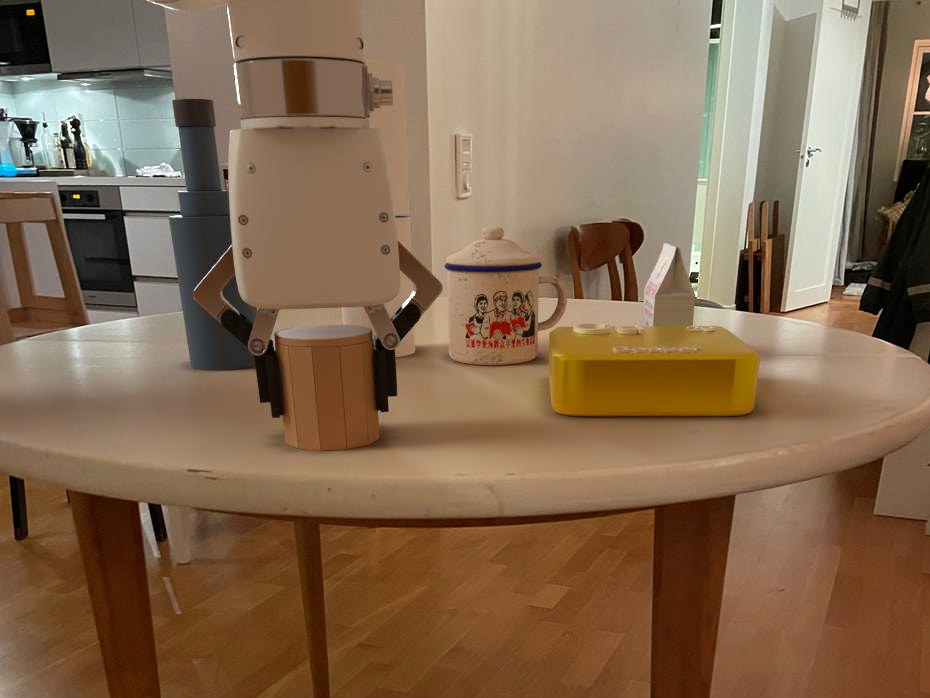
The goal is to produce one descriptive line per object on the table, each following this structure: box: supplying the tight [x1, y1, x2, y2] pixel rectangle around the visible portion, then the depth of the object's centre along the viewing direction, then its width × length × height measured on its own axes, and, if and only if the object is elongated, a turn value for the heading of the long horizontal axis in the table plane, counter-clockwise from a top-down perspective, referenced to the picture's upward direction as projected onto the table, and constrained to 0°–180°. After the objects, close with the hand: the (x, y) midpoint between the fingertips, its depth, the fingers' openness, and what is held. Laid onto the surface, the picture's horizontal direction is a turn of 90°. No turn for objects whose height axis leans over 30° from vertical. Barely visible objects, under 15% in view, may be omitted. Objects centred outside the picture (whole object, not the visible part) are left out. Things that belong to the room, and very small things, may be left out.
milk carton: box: [641, 241, 696, 326], centre depth 87 cm, size 4×7×10 cm, turn 179°
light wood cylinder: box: [273, 324, 381, 452], centre depth 61 cm, size 6×6×7 cm
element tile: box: [548, 322, 761, 417], centre depth 72 cm, size 15×15×5 cm
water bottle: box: [168, 98, 258, 371], centre depth 84 cm, size 7×7×22 cm
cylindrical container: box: [341, 58, 416, 358], centre depth 88 cm, size 7×7×25 cm
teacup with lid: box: [444, 226, 568, 366], centre depth 87 cm, size 12×9×12 cm
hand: (330, 408), depth 62 cm, fingers closed on light wood cylinder, 6 cm apart
